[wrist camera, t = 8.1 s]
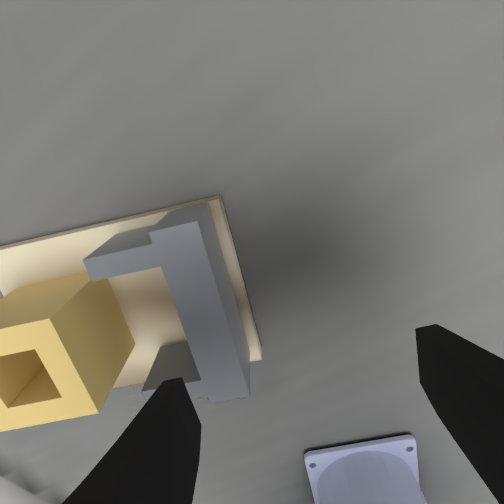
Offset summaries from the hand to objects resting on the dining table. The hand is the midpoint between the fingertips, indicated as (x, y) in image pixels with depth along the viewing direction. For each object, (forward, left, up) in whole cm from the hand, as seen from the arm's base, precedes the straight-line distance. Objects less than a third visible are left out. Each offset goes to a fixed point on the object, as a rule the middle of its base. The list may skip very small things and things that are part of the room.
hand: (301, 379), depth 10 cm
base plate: (0, +9, -9) cm, 13 cm away
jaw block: (0, +12, -8) cm, 14 cm away
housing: (0, +5, -8) cm, 9 cm away
